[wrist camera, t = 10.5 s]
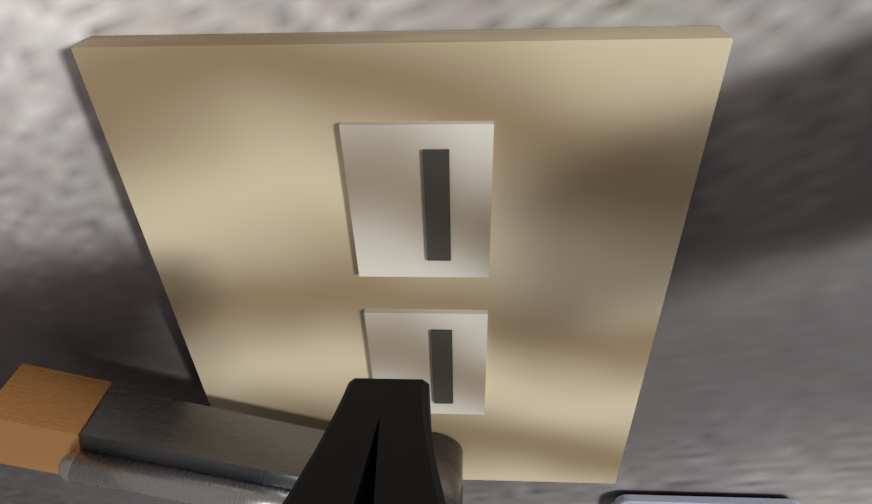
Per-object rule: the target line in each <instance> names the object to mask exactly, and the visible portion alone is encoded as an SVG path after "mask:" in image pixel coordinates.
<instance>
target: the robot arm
mask: <svg viewBox="0 0 872 504" xmlns="http://www.w3.org/2000/svg"><path fill="white" fill-rule="evenodd" d="M282 504H446V503H445V499H444V494H443V490H442V486H441V481H440V477H439V473H438V469H437V464H436V459H435V454H434V448H433V441H432V426H431V407H430V387H429V384H428V383H427V382H426V381H424V380H423V379H373V378H354V379H353V380H351V381H350V382H349V383H348V386H347V388H346V390H345V392H344V395H343V397H342V399H341V401H340V403H339V405H338V407H337V409H336V411H335V413H334V415H333V417H332V419H331V421H330V423H329V425H328V427H327V429H326V431H325V432H324V434H323V436H322V438H321V440H320V442H319V443H318V445H317V447H316V449H315V451H314V452H313V454H312V456H311V457H310V459H309V461H308V462H307V464H306V466H305V467H304V469H303V471H302V472H301V474H300V476H299V478H298V479H297V481H296V483H295V484H294V486H293V488H292V489H291V491H290V492H289V494H288V496H287V497H286V499H285V500H284V502H283V503H282ZM614 504H799V502H798V501H796V500H794V499H783V498H746V497H710V496H673V495H636V494H624V495H620V496H618V497H617V498H616V499H615V501H614Z"/></svg>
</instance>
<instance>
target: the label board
mask: <svg viewBox="0 0 872 504" xmlns="http://www.w3.org/2000/svg"><path fill="white" fill-rule="evenodd" d="M733 39H734V38H733V37H732V36H731V35H729V34H728V33H727V32H725V31H724V30H723V29H722V28H720V27H719V26H703V27H640V28H576V29H513V30H449V31H386V32H322V33H259V34H195V35H132V36H91V37H89V38H87V39H85V40H84V41H82V42H80V43H78V44H76V45H74V46H73V47H71V51H72V53H73V56H74V58H75V61H76V63H77V66H78V69H79V71H80V74H81V76H82V79H83V81H84V84H85V86H86V89H87V92H88V94H89V97H90V99H91V102H92V104H93V107H94V109H95V112H96V115H97V117H98V120H99V122H100V125H101V127H102V130H103V132H104V135H105V138H106V140H107V143H108V145H109V148H110V150H111V153H112V155H113V158H114V161H115V163H116V166H117V168H118V171H119V173H120V176H121V178H122V181H123V184H124V186H125V189H126V191H127V194H128V196H129V199H130V201H131V204H132V207H133V209H134V212H135V214H136V217H137V219H138V222H139V224H140V227H141V230H142V232H143V235H144V237H145V240H146V242H147V245H148V248H149V250H150V253H151V255H152V258H153V260H154V263H155V265H156V268H157V271H158V273H159V276H160V278H161V281H162V283H163V286H164V288H165V291H166V294H167V296H168V299H169V301H170V304H171V306H172V309H173V311H174V314H175V317H176V319H177V322H178V324H179V327H180V329H181V332H182V334H183V337H184V340H185V342H186V345H187V347H188V350H189V352H190V355H191V357H192V360H193V363H194V365H195V368H196V370H197V373H198V375H199V378H200V380H201V383H202V386H203V388H204V391H205V393H206V396H207V398H208V401H209V403H210V406H211V407H214V408H219V409H224V410H229V411H234V412H238V413H243V414H248V415H253V416H258V417H263V418H267V419H272V420H277V421H282V422H287V423H291V424H296V425H301V426H306V427H311V428H316V429H320V430H325V431H326V429H327V427H328V425H329V423H330V421H331V419H332V417H333V415H334V413H335V411H336V409H337V407H338V405H339V403H340V401H341V399H342V397H343V395H344V392H345V390H346V388H347V386H348V383H349V382H350V381H351V380H353V379H354V378H373V379H423V380H424V381H426V382H427V383H428V384H429V387H430V407H431V426H432V433H437V434H442V435H446V436H449V437H451V438H453V439H454V440H456V441H457V442H458V443H459V444H460V445H461V447H462V450H463V479H464V480H502V481H540V482H578V483H616V479H617V475H618V471H619V468H620V464H621V460H622V456H623V453H624V449H625V445H626V441H627V438H628V434H629V430H630V426H631V422H632V419H633V415H634V411H635V407H636V404H637V400H638V396H639V392H640V389H641V385H642V381H643V377H644V374H645V370H646V366H647V362H648V359H649V355H650V351H651V347H652V344H653V340H654V336H655V332H656V328H657V325H658V321H659V317H660V313H661V310H662V306H663V302H664V298H665V295H666V291H667V287H668V283H669V280H670V276H671V272H672V268H673V265H674V261H675V257H676V253H677V249H678V246H679V242H680V238H681V234H682V231H683V227H684V223H685V219H686V216H687V212H688V208H689V204H690V201H691V197H692V193H693V189H694V186H695V182H696V178H697V174H698V170H699V167H700V163H701V159H702V155H703V152H704V148H705V144H706V140H707V137H708V133H709V129H710V125H711V122H712V118H713V114H714V110H715V107H716V103H717V99H718V95H719V92H720V88H721V84H722V80H723V76H724V73H725V69H726V65H727V61H728V58H729V54H730V50H731V46H732V43H733Z"/></svg>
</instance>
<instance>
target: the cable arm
mask: <svg viewBox="0 0 872 504" xmlns="http://www.w3.org/2000/svg"><path fill="white" fill-rule="evenodd" d="M324 432H325V430H320V429H316V428H311V427H306V426H301V425H296V424H291V423H287V422H282V421H277V420H272V419H267V418H263V417H258V416H253V415H248V414H243V413H238V412H234V411H229V410H224V409H219V408H214V407H210V406H205V405H200V404H195V403H190V402H185V401H181V400H176V399H171V398H166V397H161V396H157V395H152V394H147V393H142V392H137V391H132V390H128V389H123V388H118V387H113V386H112V382H110V381H105V380H100V379H95V378H91V377H86V376H81V375H76V374H71V373H67V372H62V371H57V370H52V369H47V368H43V367H38V366H33V365H28V364H23V363H22V365H21V366H20V367H19V368H18V369H17V371H16V372H15V373H14V374H13V375H12V377H11V378H10V379H9V380H8V381H7V382H6V384H5V385H4V386H3V387H2V388H1V390H0V463H2V464H7V465H13V466H18V467H23V468H29V469H34V470H39V471H44V472H50V473H55V474H60V476H61V477H62V478H63V479H64V480H66V481H69V482H74V483H79V484H85V485H90V486H95V487H101V488H106V489H111V490H117V491H122V492H127V493H133V494H138V495H143V496H149V497H154V498H160V499H165V500H170V501H176V502H181V503H186V504H282V503H283V502H284V500H285V499H286V497H287V496H288V494H289V492H290V491H291V489H292V488H293V486H294V484H295V483H296V481H297V479H298V478H299V476H300V474H301V472H302V471H303V469H304V467H305V466H306V464H307V462H308V461H309V459H310V457H311V456H312V454H313V452H314V451H315V449H316V447H317V445H318V443H319V442H320V440H321V438H322V436H323V434H324ZM432 441H433V448H434V454H435V459H436V464H437V469H438V473H439V477H440V481H441V486H442V490H443V494H444V499H445V503H446V504H462V497H463V450H462V447H461V445H460V444H459V443H458V442H457V441H456V440H454V439H453V438H451V437H449V436H446V435H442V434H437V433H432Z"/></svg>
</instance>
